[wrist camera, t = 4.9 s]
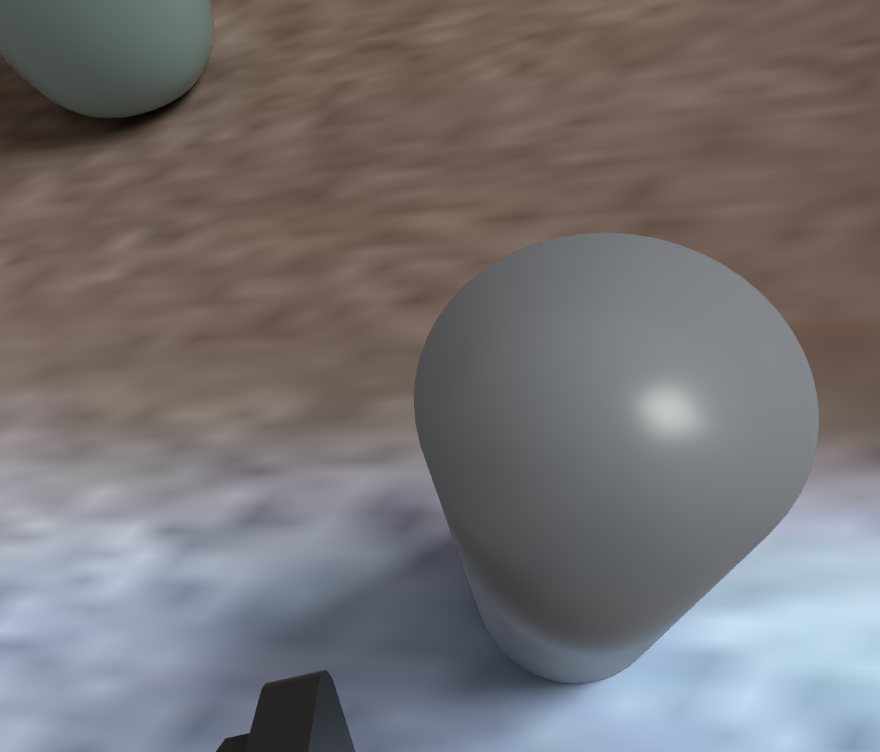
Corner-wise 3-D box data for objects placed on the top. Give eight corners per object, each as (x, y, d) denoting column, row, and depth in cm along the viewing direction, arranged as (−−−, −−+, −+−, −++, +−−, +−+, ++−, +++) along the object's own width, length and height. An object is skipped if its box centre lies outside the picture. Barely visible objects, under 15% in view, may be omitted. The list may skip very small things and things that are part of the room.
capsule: (441, 623, 17) (342, 470, 8) (523, 463, 18) (516, 191, 10) (620, 723, 15) (741, 673, 7) (692, 541, 17) (867, 306, 8)
